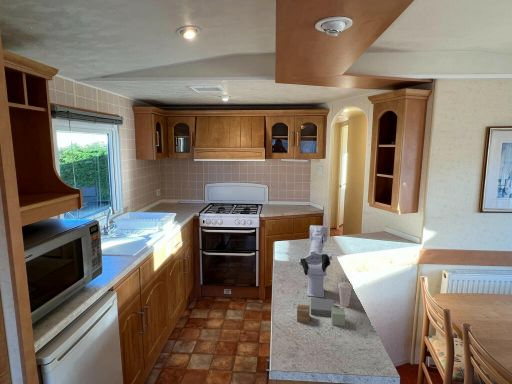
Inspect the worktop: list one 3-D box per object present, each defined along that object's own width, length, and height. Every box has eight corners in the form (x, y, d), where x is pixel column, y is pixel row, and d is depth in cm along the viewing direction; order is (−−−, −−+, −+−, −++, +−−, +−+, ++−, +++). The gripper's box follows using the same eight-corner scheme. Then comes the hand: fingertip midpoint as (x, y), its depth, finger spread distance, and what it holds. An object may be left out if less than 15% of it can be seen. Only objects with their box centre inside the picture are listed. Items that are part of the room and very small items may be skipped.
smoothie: (340, 300, 147) (342, 271, 145) (354, 304, 143) (355, 275, 141) (334, 305, 142) (335, 276, 140) (348, 309, 138) (349, 279, 136)
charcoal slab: (311, 303, 144) (311, 297, 144) (333, 305, 143) (333, 299, 142) (310, 315, 135) (310, 308, 134) (334, 317, 133) (334, 311, 132)
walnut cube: (297, 315, 134) (297, 304, 134) (309, 316, 133) (309, 305, 133) (296, 321, 129) (297, 310, 129) (309, 322, 128) (309, 311, 128)
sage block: (331, 318, 132) (331, 307, 131) (343, 319, 131) (344, 308, 130) (331, 325, 127) (332, 313, 126) (344, 326, 126) (345, 314, 125)
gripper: (297, 248, 144) (294, 266, 132) (329, 242, 139) (328, 260, 127) (302, 260, 146) (300, 280, 134) (333, 255, 141) (333, 274, 129)
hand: (314, 271), depth 131 cm, fingers open, 7 cm apart
